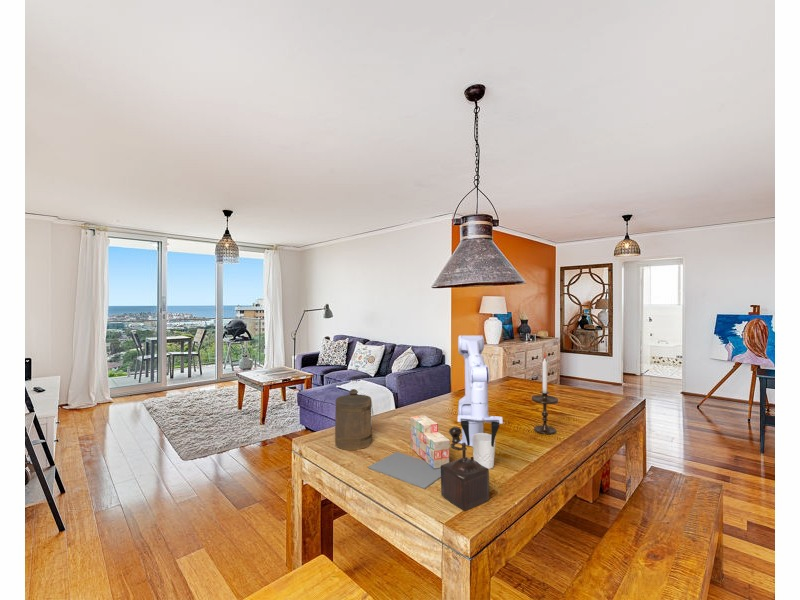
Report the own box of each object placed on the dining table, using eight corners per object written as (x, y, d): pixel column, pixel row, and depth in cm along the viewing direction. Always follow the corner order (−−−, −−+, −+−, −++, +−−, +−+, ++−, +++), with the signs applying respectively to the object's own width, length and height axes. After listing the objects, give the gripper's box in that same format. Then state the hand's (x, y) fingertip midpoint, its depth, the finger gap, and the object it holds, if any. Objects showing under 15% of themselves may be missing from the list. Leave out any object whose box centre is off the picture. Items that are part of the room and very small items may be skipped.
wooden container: (379, 440, 157) (378, 388, 157) (355, 453, 145) (355, 396, 144) (351, 434, 165) (351, 383, 165) (327, 445, 153) (326, 391, 153)
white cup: (468, 465, 134) (467, 437, 134) (480, 458, 139) (480, 431, 139) (487, 472, 128) (487, 443, 128) (499, 465, 134) (499, 436, 134)
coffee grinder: (491, 499, 111) (491, 438, 111) (463, 512, 105) (463, 447, 105) (456, 478, 124) (455, 424, 124) (429, 488, 118) (429, 430, 118)
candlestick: (560, 436, 160) (560, 353, 160) (533, 434, 162) (533, 353, 162) (555, 427, 171) (555, 349, 170) (530, 426, 173) (529, 349, 173)
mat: (396, 452, 145) (396, 451, 145) (451, 470, 130) (451, 468, 130) (368, 468, 132) (367, 466, 132) (424, 489, 118) (424, 487, 118)
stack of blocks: (449, 466, 132) (450, 431, 132) (433, 469, 130) (433, 433, 130) (424, 445, 152) (424, 414, 152) (409, 447, 150) (410, 415, 150)
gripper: (456, 403, 124) (457, 447, 122) (502, 405, 121) (504, 449, 119) (457, 400, 131) (458, 441, 129) (501, 402, 128) (502, 444, 126)
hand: (480, 445), depth 125 cm, fingers open, 7 cm apart
